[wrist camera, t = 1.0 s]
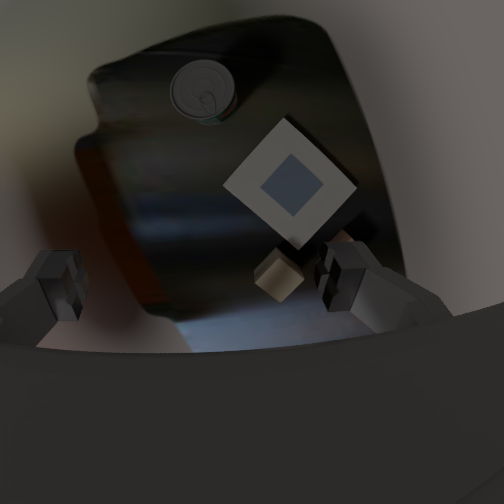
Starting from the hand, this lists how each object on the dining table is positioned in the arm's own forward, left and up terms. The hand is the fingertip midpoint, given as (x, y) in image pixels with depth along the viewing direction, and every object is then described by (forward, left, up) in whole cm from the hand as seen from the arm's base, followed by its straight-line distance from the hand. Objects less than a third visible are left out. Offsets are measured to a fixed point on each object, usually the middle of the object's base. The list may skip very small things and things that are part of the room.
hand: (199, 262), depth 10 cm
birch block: (-16, +8, -38) cm, 42 cm away
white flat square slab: (-8, -4, -38) cm, 39 cm away
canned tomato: (+10, -6, -38) cm, 40 cm away
